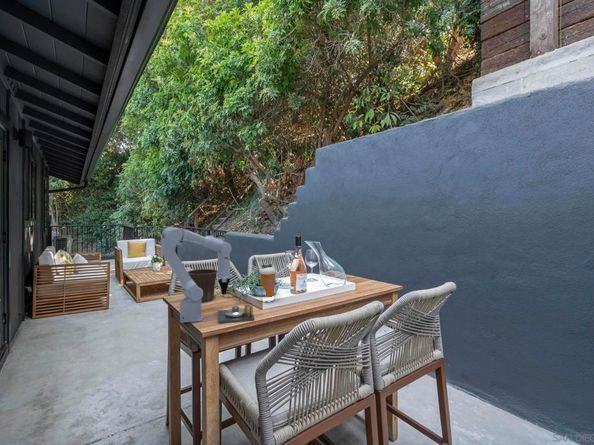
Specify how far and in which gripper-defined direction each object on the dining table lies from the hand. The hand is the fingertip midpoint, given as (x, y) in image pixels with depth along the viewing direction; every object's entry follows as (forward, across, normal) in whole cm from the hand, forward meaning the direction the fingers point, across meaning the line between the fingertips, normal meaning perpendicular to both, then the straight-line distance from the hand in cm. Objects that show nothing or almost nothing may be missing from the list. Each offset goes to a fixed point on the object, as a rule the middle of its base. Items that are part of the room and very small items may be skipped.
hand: (224, 293), depth 158 cm
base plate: (+9, -7, -5) cm, 13 cm away
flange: (+8, -8, -7) cm, 13 cm away
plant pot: (+10, +28, +11) cm, 32 cm away
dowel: (+8, -12, -11) cm, 18 cm away
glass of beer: (+10, +16, -24) cm, 30 cm away
